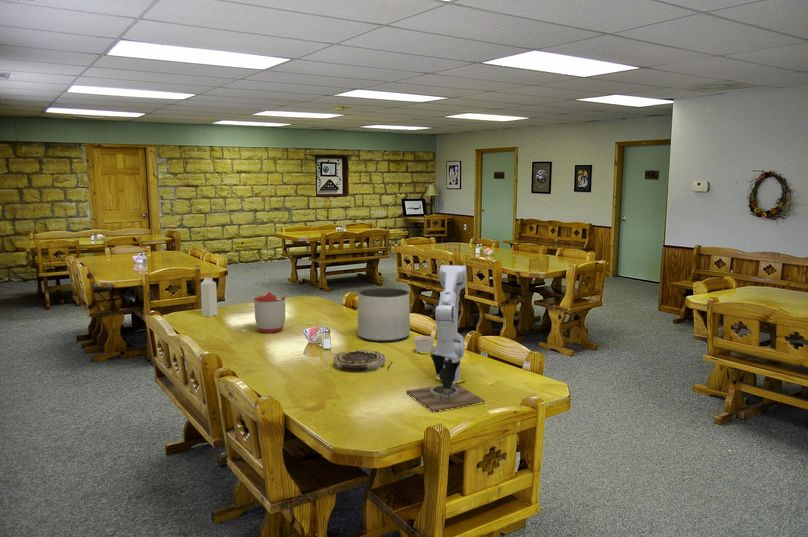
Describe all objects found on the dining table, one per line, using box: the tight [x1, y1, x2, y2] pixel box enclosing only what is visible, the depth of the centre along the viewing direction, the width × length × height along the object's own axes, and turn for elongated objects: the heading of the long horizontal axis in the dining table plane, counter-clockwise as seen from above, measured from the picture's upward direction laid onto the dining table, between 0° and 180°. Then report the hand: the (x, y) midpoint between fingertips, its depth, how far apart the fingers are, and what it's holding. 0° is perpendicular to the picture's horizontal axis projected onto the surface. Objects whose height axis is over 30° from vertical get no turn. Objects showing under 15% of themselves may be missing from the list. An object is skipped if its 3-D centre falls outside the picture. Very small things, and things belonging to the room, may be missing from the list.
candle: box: [413, 335, 435, 353], centre depth 263 cm, size 9×9×6 cm
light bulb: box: [439, 368, 455, 394], centre depth 206 cm, size 6×6×10 cm
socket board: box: [405, 383, 486, 412], centre depth 207 cm, size 20×20×1 cm
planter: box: [357, 287, 411, 342], centre depth 289 cm, size 25×25×22 cm
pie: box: [333, 349, 389, 373], centre depth 244 cm, size 28×27×5 cm
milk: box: [200, 276, 218, 316], centre depth 333 cm, size 6×6×22 cm
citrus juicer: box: [253, 291, 286, 334], centre depth 301 cm, size 16×17×20 cm
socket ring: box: [430, 384, 459, 401], centre depth 206 cm, size 10×10×2 cm
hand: (444, 377), depth 206 cm, fingers open, 7 cm apart
